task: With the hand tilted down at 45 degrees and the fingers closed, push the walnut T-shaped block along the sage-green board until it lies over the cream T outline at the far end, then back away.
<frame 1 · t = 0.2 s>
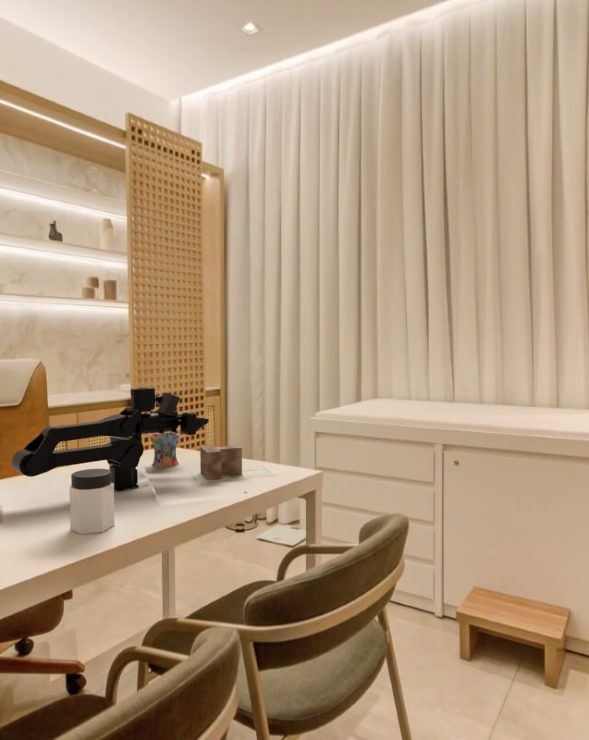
hand: (199, 419, 165), 17 cm above the table, tool horizontal, fingers open, 9 cm apart
board: (235, 476, 160), on the table
supplement bottle: (120, 469, 171), on the table
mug: (166, 467, 174), on the table
t block: (222, 474, 159), point 1 cm above the table, touching board
jar: (92, 528, 116), on the table
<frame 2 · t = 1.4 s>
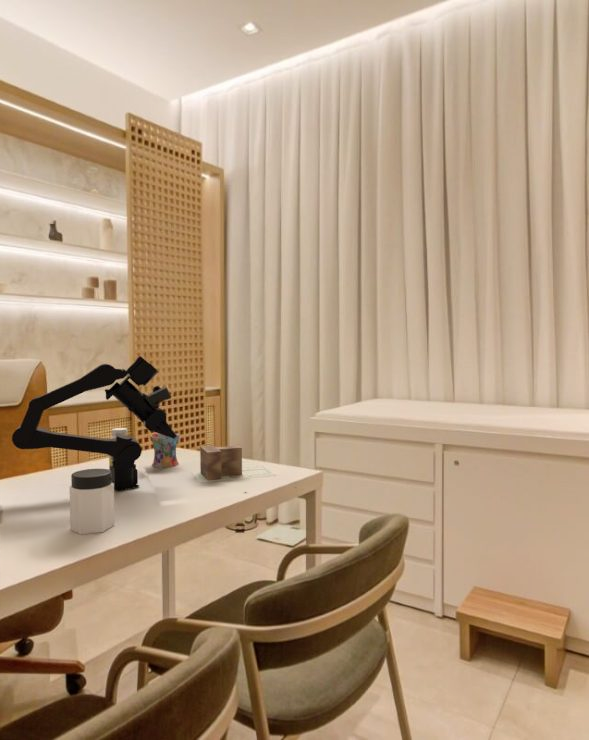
hand: (173, 435, 153), 14 cm above the table, tool tilted 45°, fingers open, 6 cm apart
nothing on the table moved.
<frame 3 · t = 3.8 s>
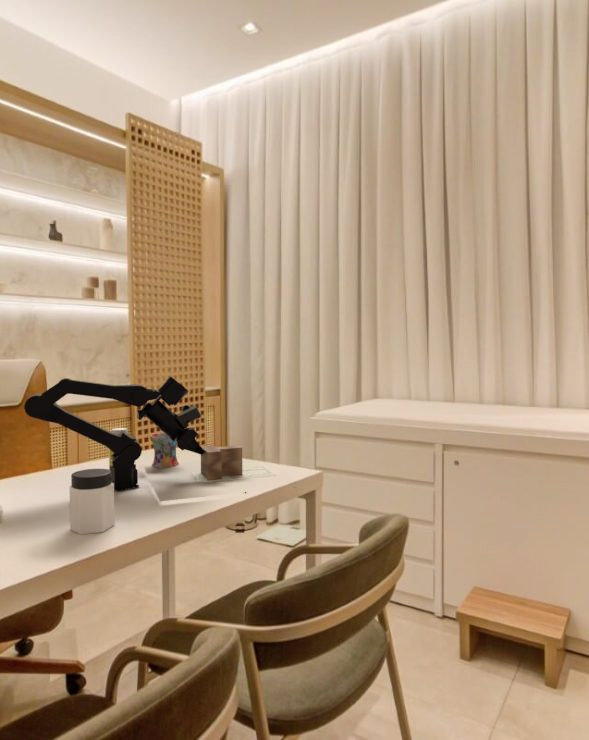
hand: (203, 453, 156), 8 cm above the table, tool tilted 45°, fingers closed, pressing on t block
t block: (222, 474, 159), point 1 cm above the table, touching gripper
everything else where it was.
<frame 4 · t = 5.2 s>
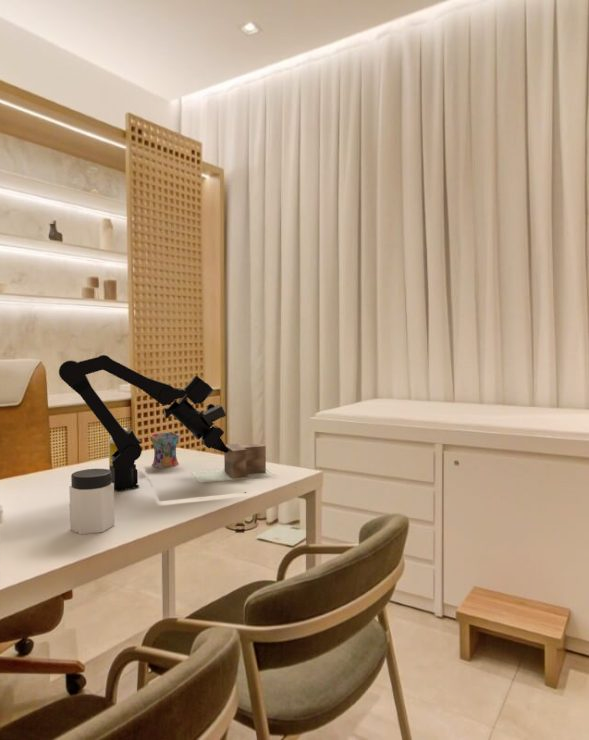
hand: (227, 451, 159), 8 cm above the table, tool tilted 45°, fingers closed, pressing on t block
t block: (246, 472, 161), point 1 cm above the table, touching gripper
everything else where it was.
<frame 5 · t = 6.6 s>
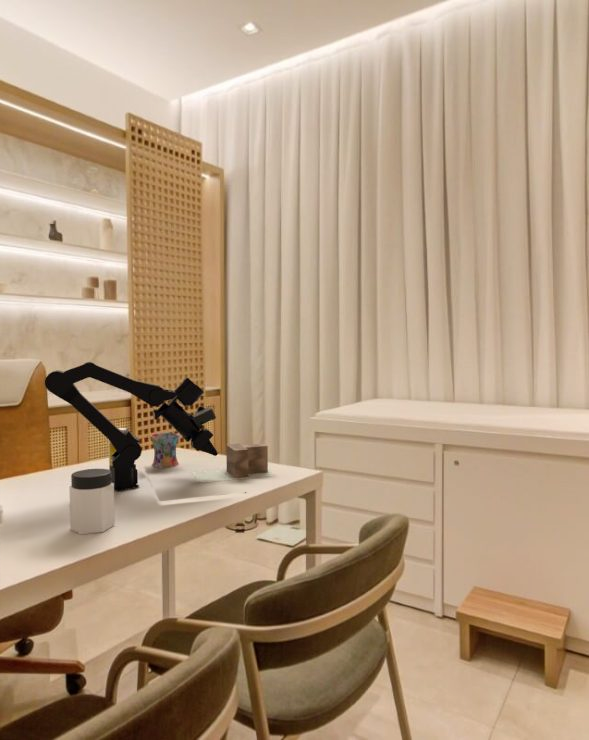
hand: (216, 454, 158), 7 cm above the table, tool tilted 45°, fingers closed
t block: (248, 472, 162), point 1 cm above the table, touching board
everything else where it was.
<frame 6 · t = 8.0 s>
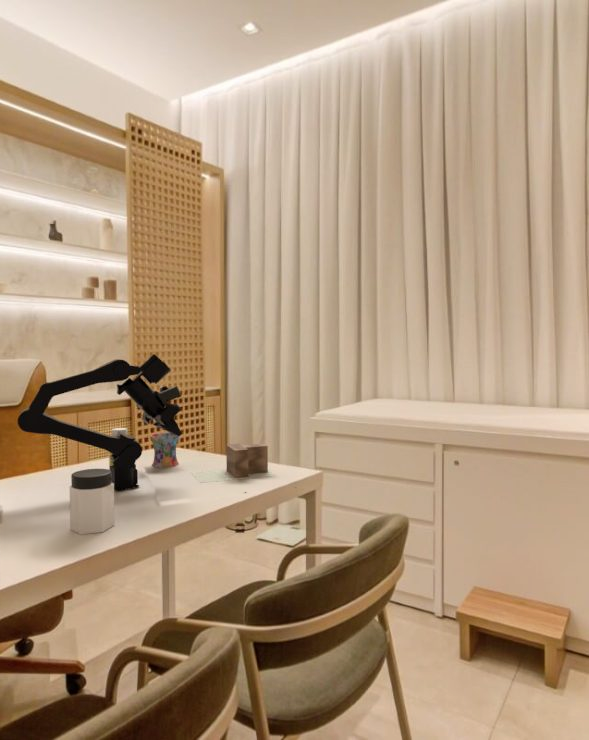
hand: (180, 435, 154), 13 cm above the table, tool tilted 40°, fingers closed
nothing on the table moved.
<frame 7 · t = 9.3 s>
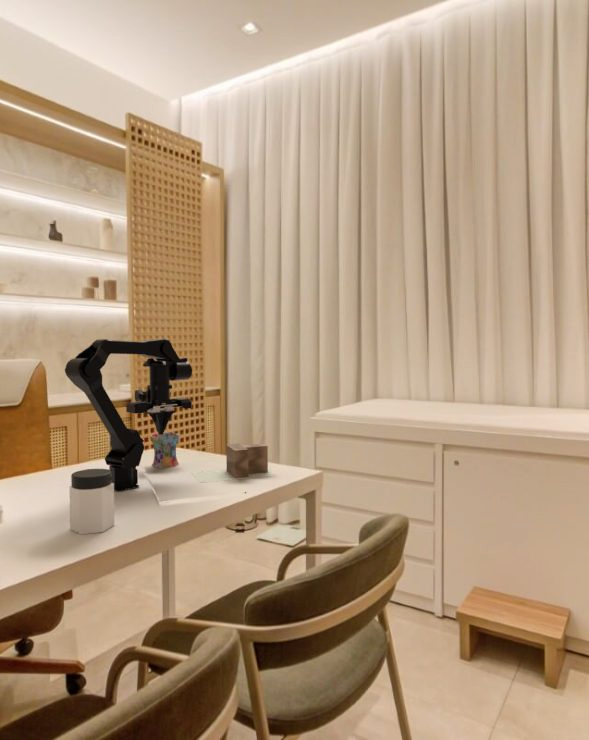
hand: (160, 434, 158), 13 cm above the table, tool pointing down, fingers closed
nothing on the table moved.
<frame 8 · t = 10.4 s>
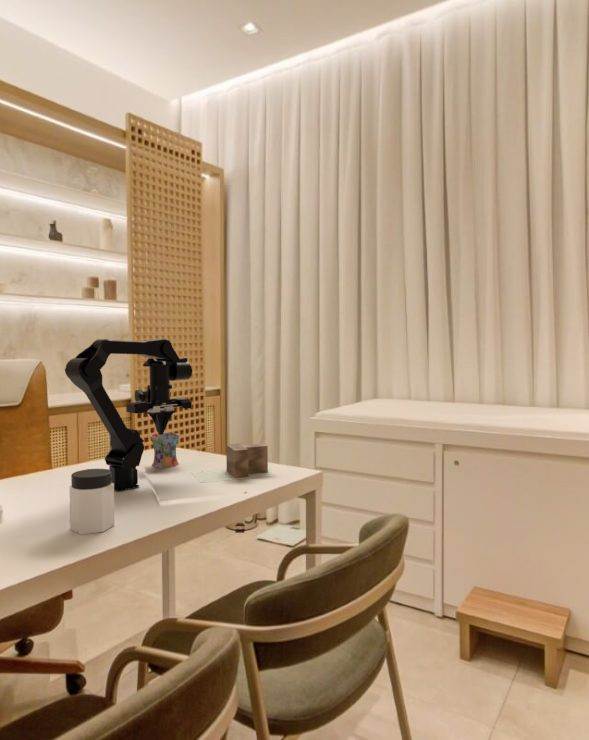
hand: (160, 434, 158), 13 cm above the table, tool pointing down, fingers closed
nothing on the table moved.
at the end: t block 0.5 cm from the target spot, point 0.9 cm above the table; t block tilted 0°; t block moved 8.0 cm from its start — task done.
